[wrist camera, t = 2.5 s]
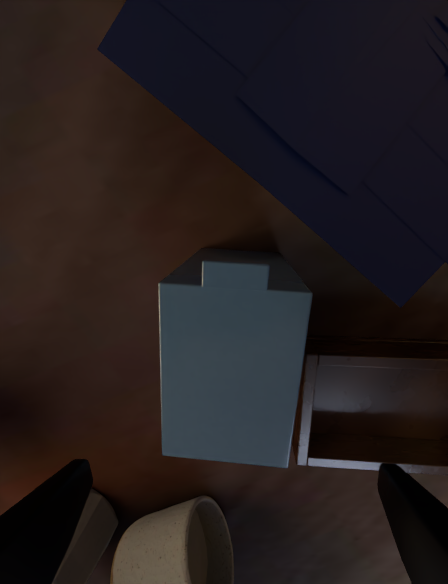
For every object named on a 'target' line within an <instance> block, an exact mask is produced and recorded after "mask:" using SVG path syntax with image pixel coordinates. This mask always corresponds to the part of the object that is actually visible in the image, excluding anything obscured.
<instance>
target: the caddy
mask: <svg viewBox="0 0 448 584" xmlns="http://www.w3.org/2000/svg"><path fill="white" fill-rule="evenodd" d="M292 446H293V451H294V456H295V461H296V464H297V465H307V466H318V467H333V468H348V469H363V470H378V471H379V467H380V464H381V463H394V464H396V465H398V466H399V467H400V468H402V469H403V470H404V471H405V472H407V473H422V474H437V475H448V340H429V339H400V338H370V337H340V336H310V335H307V338H306V345H305V352H304V359H303V366H302V373H301V380H300V387H299V395H298V402H297V409H296V416H295V423H294V430H293V437H292Z"/></svg>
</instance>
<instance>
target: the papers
mask: <svg viewBox="0 0 448 584" xmlns="http://www.w3.org/2000/svg"><path fill="white" fill-rule="evenodd" d="M98 50H99V51H100V52H101V53H102V54H104V55H105V56H106V57H107V58H108V59H110V60H111V61H112V62H113V63H114V64H116V65H117V66H118V67H119V68H121V69H122V70H123V71H124V72H125V73H127V74H128V75H129V76H130V77H131V78H133V79H134V80H135V81H136V82H137V83H139V84H140V85H141V86H142V87H143V88H145V89H146V90H147V91H148V92H149V93H151V94H152V95H153V96H154V97H156V98H157V99H158V100H159V101H160V102H162V103H163V104H164V105H165V106H166V107H168V108H169V109H170V110H171V111H172V112H174V113H175V114H176V115H177V116H178V117H180V118H181V119H182V120H183V121H184V122H186V123H187V124H188V125H189V126H191V127H192V128H193V129H194V130H195V131H197V132H198V133H199V134H200V135H201V136H203V137H204V138H205V139H206V140H207V141H209V142H210V143H211V144H212V145H213V146H215V147H216V148H217V149H218V150H219V151H221V152H222V153H223V154H224V155H226V156H227V157H228V158H229V159H230V160H232V161H233V162H234V163H235V164H236V165H238V166H239V167H240V168H241V169H242V170H244V171H245V172H246V173H247V174H248V175H250V176H251V177H252V178H253V179H254V180H256V181H257V182H258V183H259V184H261V185H262V186H263V187H264V188H265V189H266V190H268V191H269V192H270V193H271V194H272V195H273V196H274V197H275V198H277V199H278V200H279V201H280V202H281V203H282V204H283V205H285V206H286V207H287V208H288V209H289V210H290V211H291V212H292V213H294V214H295V215H296V216H297V217H298V218H299V219H300V220H302V221H303V222H304V223H305V224H306V225H307V226H308V227H309V228H311V229H312V230H313V231H314V232H315V233H316V234H317V235H319V236H320V237H321V238H322V239H323V240H324V241H325V242H326V243H328V244H329V245H330V246H331V247H332V248H333V249H334V250H336V251H337V252H338V253H339V254H340V255H341V256H342V257H343V258H345V259H346V260H347V261H348V262H349V263H350V264H351V265H353V266H354V267H355V268H356V269H357V270H358V271H359V272H360V273H362V274H363V275H364V276H365V277H366V278H367V279H368V280H370V281H371V282H372V283H373V284H374V285H375V286H376V287H377V288H379V289H380V290H381V291H382V292H383V293H384V294H385V295H387V296H388V297H389V298H390V299H391V300H392V301H393V302H394V303H396V304H397V305H398V306H399V307H400V308H401V307H402V306H403V305H404V304H405V303H406V302H407V301H408V300H409V299H410V298H411V297H412V296H413V295H414V294H415V293H416V292H417V291H418V290H419V289H420V287H421V286H422V285H423V284H424V283H425V282H426V281H427V280H428V279H429V278H430V277H431V276H432V275H433V274H434V273H435V272H436V271H437V270H438V269H439V268H440V267H441V266H442V265H443V264H444V262H446V263H447V264H448V0H127V1H126V2H125V4H124V6H123V7H122V9H121V11H120V12H119V14H118V16H117V17H116V19H115V21H114V22H113V24H112V26H111V27H110V29H109V31H108V32H107V34H106V36H105V37H104V39H103V40H102V42H101V44H100V45H99V47H98Z"/></svg>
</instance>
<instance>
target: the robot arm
mask: <svg viewBox="0 0 448 584" xmlns="http://www.w3.org/2000/svg"><path fill="white" fill-rule="evenodd" d="M92 484H93V477H92V473H91V469H90V465H89V462H88V460H87V459H75V460H73V461H71V462H70V463H69V464H67V465H66V466H65V467H63V468H62V469H61V470H59V471H58V472H57V473H56V474H54V475H53V476H52V477H50V478H49V479H48V480H46V481H45V482H44V483H43V484H41V485H40V486H39V487H37V488H36V489H35V490H33V491H32V492H31V493H29V494H28V495H27V496H26V497H24V498H23V499H22V500H20V501H19V502H18V503H16V504H15V505H14V506H13V507H11V508H10V509H9V510H7V511H6V512H5V513H3V514H2V515H1V516H0V584H52V582H53V580H54V578H55V576H56V574H57V571H58V569H59V567H60V565H61V563H62V561H63V559H64V557H65V554H66V552H67V550H68V548H69V545H70V543H71V541H72V538H73V536H74V533H75V530H76V528H77V525H78V522H79V520H80V517H81V515H82V512H83V509H84V507H85V504H86V501H87V499H88V496H89V493H90V491H91V488H92ZM378 492H379V495H380V498H381V501H382V504H383V507H384V510H385V513H386V516H387V519H388V521H389V524H390V527H391V530H392V533H393V536H394V539H395V542H396V545H397V548H398V551H399V553H400V556H401V559H402V561H403V564H404V566H405V568H406V571H407V573H408V575H409V578H410V580H411V582H412V584H448V508H447V507H446V506H445V505H444V504H442V503H441V502H440V501H439V500H438V499H437V498H435V497H434V496H433V495H432V494H431V493H430V492H428V491H427V490H426V489H425V488H424V487H423V486H421V485H420V484H419V483H418V482H417V481H416V480H414V479H413V478H412V477H411V476H410V475H409V474H407V473H406V472H405V471H404V470H403V469H402V468H400V467H399V466H398V465H396V464H394V463H381V464H380V467H379V475H378Z"/></svg>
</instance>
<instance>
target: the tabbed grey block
mask: <svg viewBox="0 0 448 584" xmlns="http://www.w3.org/2000/svg"><path fill="white" fill-rule="evenodd" d="M158 291H159V336H160V382H161V427H162V455H163V456H173V457H183V458H192V459H202V460H212V461H221V462H231V463H241V464H250V465H260V466H270V467H279V468H288V465H289V458H290V451H291V444H292V437H293V430H294V423H295V416H296V409H297V402H298V395H299V387H300V380H301V373H302V366H303V359H304V352H305V345H306V338H307V331H308V324H309V317H310V310H311V303H312V296H313V293H312V292H311V290H310V289H309V288H308V287H307V286H306V284H305V283H304V282H303V281H302V279H301V278H300V277H299V276H298V274H297V273H296V272H295V271H294V269H293V268H292V267H291V266H290V265H289V263H288V262H287V261H286V260H285V258H284V257H283V256H282V255H281V253H278V252H260V251H242V250H224V249H207V248H201V249H200V250H199V251H197V252H196V253H195V254H194V255H192V256H191V257H190V258H189V259H188V260H186V261H185V262H184V263H183V264H181V265H180V266H179V267H178V268H176V269H175V270H174V271H173V272H172V273H170V274H169V275H168V276H167V277H165V278H164V279H163V280H162V281H160V282H159V284H158Z"/></svg>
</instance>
